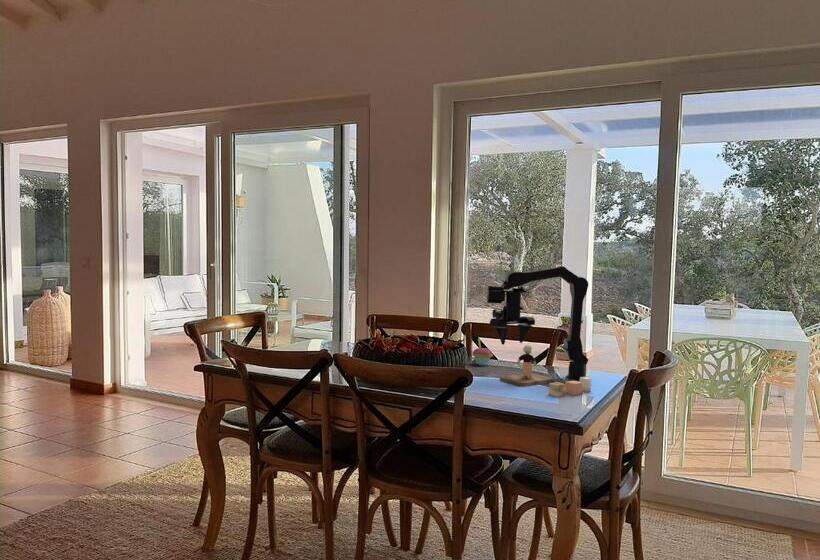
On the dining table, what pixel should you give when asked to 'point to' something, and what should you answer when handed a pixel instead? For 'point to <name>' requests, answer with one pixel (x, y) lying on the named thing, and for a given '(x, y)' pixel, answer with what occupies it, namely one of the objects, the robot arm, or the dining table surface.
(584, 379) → the off-white cylinder
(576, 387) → the terracotta block
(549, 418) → the dining table surface
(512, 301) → the robot arm
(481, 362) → the cupcake
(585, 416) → the dining table surface
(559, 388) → the beech block
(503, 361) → the dining table surface
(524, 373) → the grandmother figurine
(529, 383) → the walnut board
